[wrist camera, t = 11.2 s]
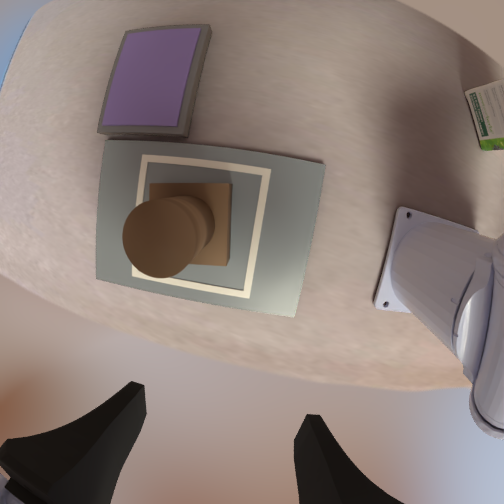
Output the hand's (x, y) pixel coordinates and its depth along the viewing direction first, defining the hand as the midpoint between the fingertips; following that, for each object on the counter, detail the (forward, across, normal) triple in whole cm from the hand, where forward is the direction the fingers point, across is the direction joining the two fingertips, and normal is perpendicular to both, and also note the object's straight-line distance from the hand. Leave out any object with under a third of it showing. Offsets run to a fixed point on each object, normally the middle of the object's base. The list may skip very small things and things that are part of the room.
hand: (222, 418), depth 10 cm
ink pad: (+10, +9, -17) cm, 22 cm away
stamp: (+10, +4, -7) cm, 13 cm away
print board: (+10, +4, -6) cm, 13 cm away
